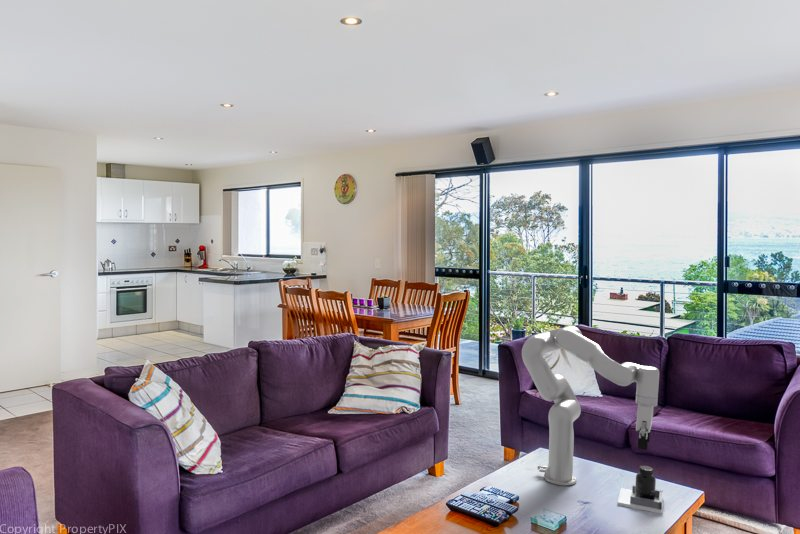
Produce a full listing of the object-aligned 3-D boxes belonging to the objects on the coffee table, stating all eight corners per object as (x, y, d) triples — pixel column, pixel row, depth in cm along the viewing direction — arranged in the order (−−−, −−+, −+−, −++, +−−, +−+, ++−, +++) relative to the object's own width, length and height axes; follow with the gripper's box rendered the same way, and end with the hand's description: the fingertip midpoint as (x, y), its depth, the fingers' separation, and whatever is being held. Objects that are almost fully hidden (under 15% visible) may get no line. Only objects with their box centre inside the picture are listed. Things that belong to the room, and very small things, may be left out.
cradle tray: (617, 504, 212) (617, 495, 212) (620, 490, 225) (621, 481, 225) (662, 514, 206) (662, 504, 206) (663, 498, 219) (663, 489, 218)
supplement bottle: (656, 504, 211) (658, 472, 210) (636, 502, 212) (638, 470, 212) (652, 496, 218) (653, 465, 217) (633, 494, 219) (634, 463, 219)
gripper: (637, 393, 225) (634, 436, 226) (633, 403, 209) (630, 450, 210) (658, 396, 221) (655, 440, 222) (656, 407, 206) (653, 454, 207)
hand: (643, 445), depth 216 cm, fingers open, 9 cm apart
